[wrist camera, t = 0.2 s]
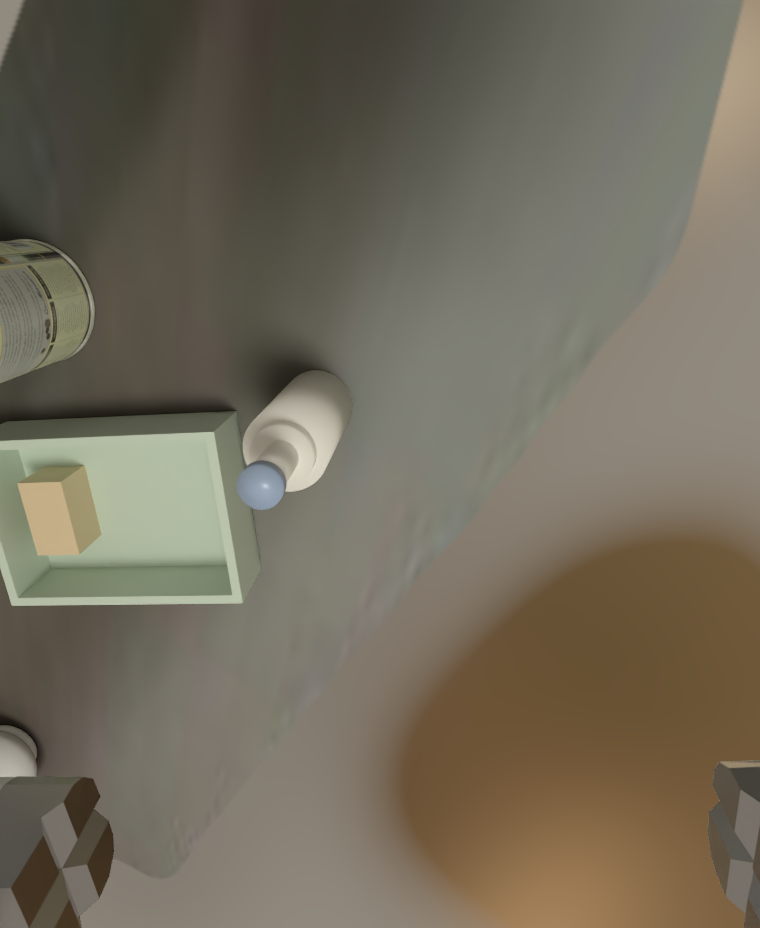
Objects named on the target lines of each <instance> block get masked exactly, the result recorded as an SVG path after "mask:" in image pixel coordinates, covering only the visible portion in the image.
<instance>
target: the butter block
mask: <svg viewBox="0 0 760 928" xmlns="http://www.w3.org/2000/svg"><path fill="white" fill-rule="evenodd" d="M17 485H18V488H19V492H20V495H21V499H22V502H23V506H24V509H25V513H26V516H27V520H28V523H29V527H30V530H31V534H32V537H33V541H34V544H35V548H36V551H37V555H38V556H40V555H80V554H81V553H82V552H83V551H84V550H85V549H86V548H87V547H88V546H90V545H91V544H92V543H93V542H94V541H95V540H96V539H97V538H98V537H99V536H100V535H102V534H101V530H100V526H99V522H98V518H97V514H96V510H95V505H94V501H93V497H92V493H91V489H90V485H89V481H88V477H87V473H86V469H85V465H81V466H54V467H43V468H41V469H40V470H38V471H36V472H35V473H33V474H31V475H30V476H28V477H27V478H25V479H23V480H22V481H20V482H19V483H17Z"/></svg>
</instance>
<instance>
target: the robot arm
mask: <svg viewBox="0 0 760 928" xmlns="http://www.w3.org/2000/svg"><path fill="white" fill-rule="evenodd" d="M712 785H713V787H714V790H715V792H716V794H717V796H718V798H719V800H720V802H719V803H718V804H717V805H716V806H715V807H714V808H713V809H712V810H710V811H709V823H708V837H709V844H710V851H711V857H712V860H713V864H714V867H715V870H716V874H717V876H718V879H719V881H720V884H721V886H722V889H723V891H724V893H725V896H726V897H727V898H728V899H729V900H731V901H732V902H733V903H734V904H735V905H736V906H737V907H738V908H740V909H741V910H742V911H743V912H744V913H745V921H744V928H760V761H734V762H733V761H730V762H719V763H718V765H717V766H716V768H715V769H714V777H713V783H712ZM100 797H101V796H100V794H99V791H98V789H97V786H96V784H95V782H94V779H93V778H87V777H29V776H17V777H0V928H82V926H81V921H80V915H82V914H83V913H84V912H85V911H86V910H87V909H88V908H89V907H91V906H92V905H93V904H94V903H95V902H96V901H97V900H98V899H99V898H100V896H101V894H102V891H103V889H104V887H105V885H106V882H107V880H108V878H109V874H110V870H111V864H112V860H113V855H114V839H113V832H112V829H111V826H110V823H109V820H107V819H106V818H105V817H104V816H102V815H101V814H100V813H99V812H97V811H96V810H95V809H94V808H95V806H96V804H97V802H98V800H99V799H100Z"/></svg>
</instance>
